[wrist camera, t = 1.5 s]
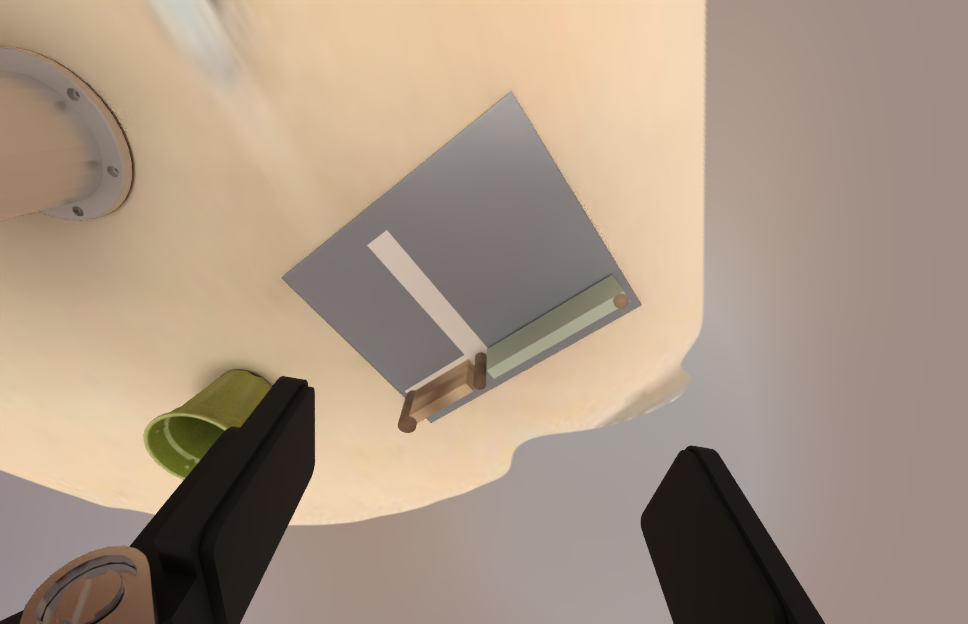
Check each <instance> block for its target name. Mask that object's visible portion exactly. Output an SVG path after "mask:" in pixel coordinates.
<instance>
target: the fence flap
mask: <svg viewBox="0 0 968 624" xmlns="http://www.w3.org/2000/svg"><path fill="white" fill-rule="evenodd" d="M629 302H630V301H629V299H628V297H627V296H626V294H625V293H624V291H623V290H622V288H621V287H620V285H619V284H618V282H617V281H616V279H615V278H614V276H613V275H610V276H609V277H607V278H605V279H604V280H602V281H600V282H598V283H597V284H595V285H593V286H592V287H590V288H588V289H587V290H585V291H583V292H582V293H580V294H578V295H577V296H575V297H573V298H572V299H570V300H568V301H567V302H565V303H563V304H562V305H560V306H558V307H557V308H555V309H553V310H552V311H550V312H548V313H547V314H545V315H543V316H542V317H540V318H538V319H537V320H535V321H533V322H532V323H530V324H528V325H527V326H525V327H523V328H521V329H520V330H518V331H516V332H515V333H513V334H511V335H510V336H508V337H506V338H505V339H503V340H501V341H500V342H498V343H496V344H495V345H493V346H491V347H490V348H488V349H487V368H486V371H487V372H488V373H489V374H490V375H491V376H492V377H493V378H494V379H495V378H497V377H498V376H500V375H502V374H504V373H505V372H507V371H509V370H511V369H512V368H514V367H516V366H518V365H519V364H521V363H523V362H525V361H527V360H528V359H530V358H532V357H534V356H535V355H537V354H539V353H541V352H542V351H544V350H546V349H548V348H549V347H551V346H553V345H555V344H556V343H558V342H560V341H562V340H564V339H565V338H567V337H569V336H571V335H572V334H574V333H576V332H578V331H579V330H581V329H583V328H585V327H586V326H588V325H590V324H592V323H594V322H595V321H597V320H599V319H601V318H602V317H604V316H606V315H608V314H609V313H611V312H613V311H615V310H616V309H618V308H619V309H623V308H625V307H627V306H628V304H629Z"/></svg>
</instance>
